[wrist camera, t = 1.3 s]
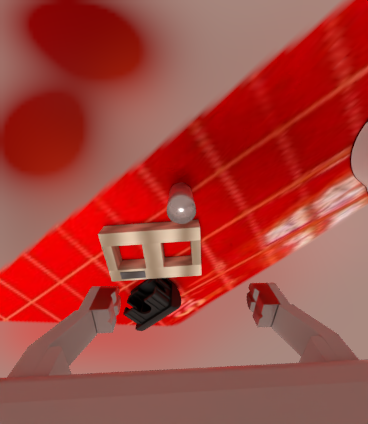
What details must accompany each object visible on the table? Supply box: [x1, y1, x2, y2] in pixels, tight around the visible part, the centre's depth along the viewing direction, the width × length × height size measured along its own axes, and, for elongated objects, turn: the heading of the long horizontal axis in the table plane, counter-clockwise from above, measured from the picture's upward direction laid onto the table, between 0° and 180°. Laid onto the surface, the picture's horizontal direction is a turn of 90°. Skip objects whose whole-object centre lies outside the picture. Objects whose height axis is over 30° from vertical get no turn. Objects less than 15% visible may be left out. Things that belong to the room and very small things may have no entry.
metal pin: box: [167, 182, 196, 224], centre depth 28 cm, size 4×4×8 cm
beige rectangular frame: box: [98, 220, 201, 281], centre depth 35 cm, size 18×11×3 cm, turn 93°
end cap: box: [124, 278, 181, 331], centre depth 38 cm, size 10×7×7 cm
